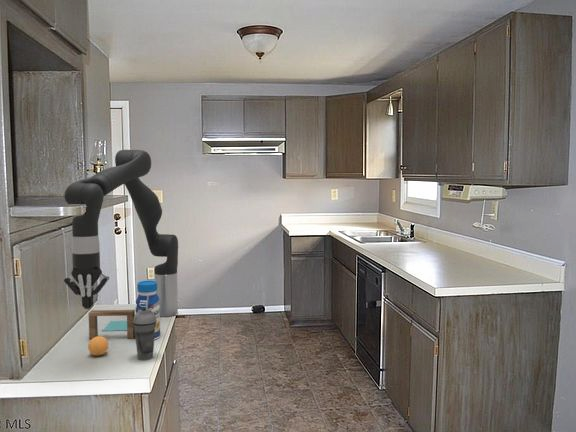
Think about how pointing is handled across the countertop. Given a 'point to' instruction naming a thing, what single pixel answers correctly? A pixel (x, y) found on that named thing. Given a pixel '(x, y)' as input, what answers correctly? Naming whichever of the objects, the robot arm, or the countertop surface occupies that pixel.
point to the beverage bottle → (149, 301)
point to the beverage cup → (144, 332)
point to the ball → (98, 345)
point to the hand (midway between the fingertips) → (87, 308)
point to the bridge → (93, 315)
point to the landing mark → (116, 326)
